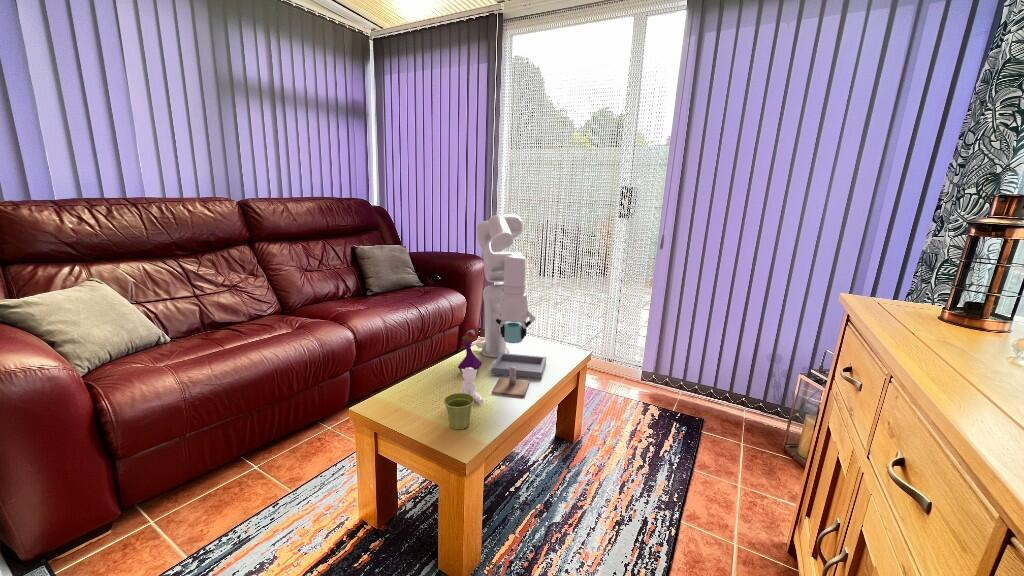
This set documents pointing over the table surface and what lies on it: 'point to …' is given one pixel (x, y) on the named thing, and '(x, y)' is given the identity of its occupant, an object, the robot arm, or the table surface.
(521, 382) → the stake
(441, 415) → the table surface
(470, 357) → the perfume bottle
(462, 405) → the plant pot
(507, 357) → the tray
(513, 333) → the ring
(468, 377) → the seated beast figurine
